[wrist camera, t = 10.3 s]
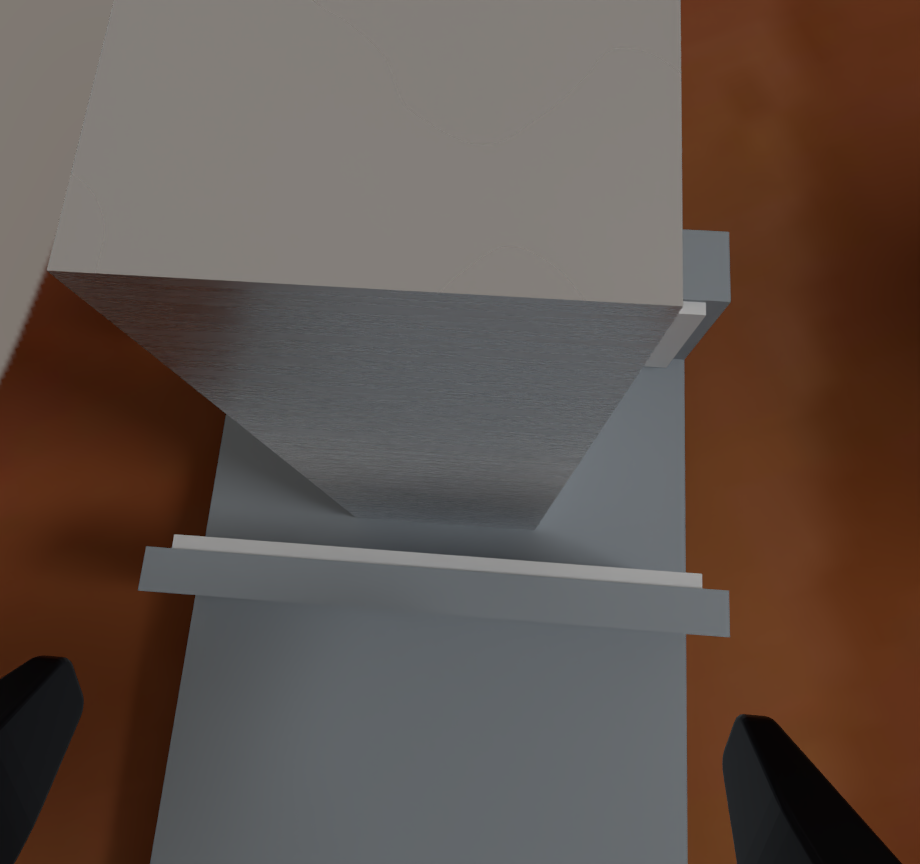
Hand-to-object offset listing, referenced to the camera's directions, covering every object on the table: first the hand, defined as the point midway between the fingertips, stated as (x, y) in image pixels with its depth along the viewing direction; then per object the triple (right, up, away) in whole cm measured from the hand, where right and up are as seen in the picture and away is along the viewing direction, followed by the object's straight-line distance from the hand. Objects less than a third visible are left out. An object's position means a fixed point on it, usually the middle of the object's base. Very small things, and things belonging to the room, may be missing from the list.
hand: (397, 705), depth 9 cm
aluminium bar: (+1, +3, +9) cm, 9 cm away
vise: (0, -1, +9) cm, 9 cm away
